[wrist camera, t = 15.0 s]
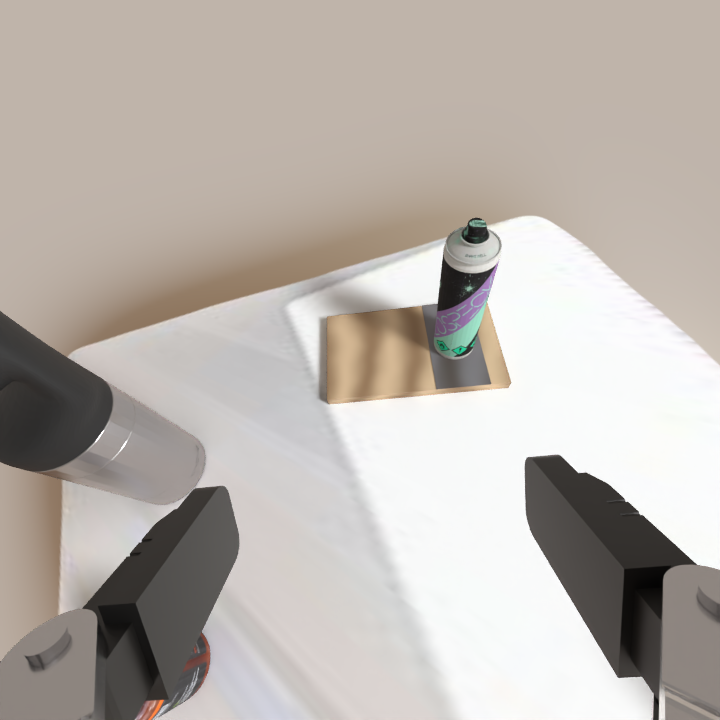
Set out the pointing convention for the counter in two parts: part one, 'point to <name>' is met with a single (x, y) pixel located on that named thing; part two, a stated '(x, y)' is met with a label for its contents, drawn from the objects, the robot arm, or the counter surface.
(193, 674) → the supplement bottle
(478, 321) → the spray can
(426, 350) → the plywood panel
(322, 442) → the counter surface
